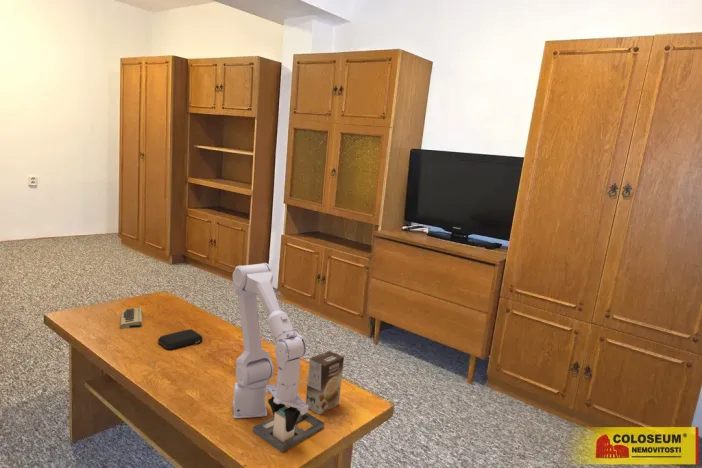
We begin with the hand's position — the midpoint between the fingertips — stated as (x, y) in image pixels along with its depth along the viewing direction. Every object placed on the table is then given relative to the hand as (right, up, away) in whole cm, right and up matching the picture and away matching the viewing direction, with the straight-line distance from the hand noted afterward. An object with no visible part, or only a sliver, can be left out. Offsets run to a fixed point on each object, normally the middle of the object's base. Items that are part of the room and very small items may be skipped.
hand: (284, 426), depth 126 cm
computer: (-73, +16, +67) cm, 100 cm away
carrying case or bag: (-47, +10, +51) cm, 70 cm away
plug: (0, -3, +1) cm, 3 cm away
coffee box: (+9, -1, +19) cm, 21 cm away
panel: (+1, -3, +5) cm, 6 cm away
